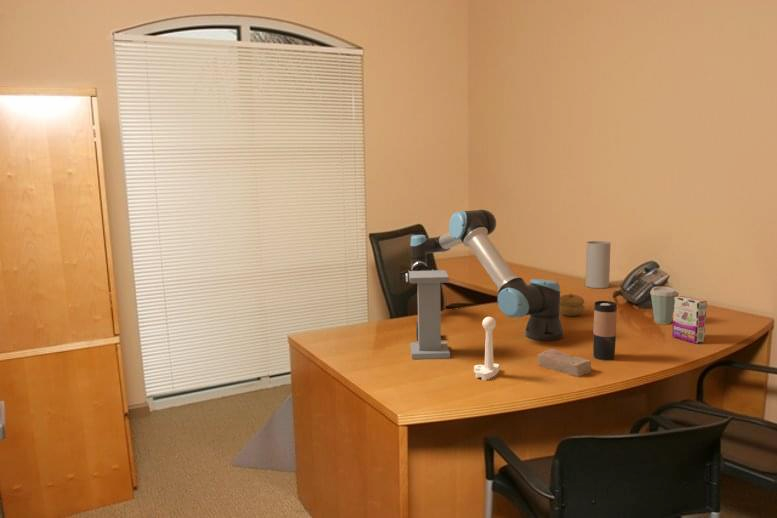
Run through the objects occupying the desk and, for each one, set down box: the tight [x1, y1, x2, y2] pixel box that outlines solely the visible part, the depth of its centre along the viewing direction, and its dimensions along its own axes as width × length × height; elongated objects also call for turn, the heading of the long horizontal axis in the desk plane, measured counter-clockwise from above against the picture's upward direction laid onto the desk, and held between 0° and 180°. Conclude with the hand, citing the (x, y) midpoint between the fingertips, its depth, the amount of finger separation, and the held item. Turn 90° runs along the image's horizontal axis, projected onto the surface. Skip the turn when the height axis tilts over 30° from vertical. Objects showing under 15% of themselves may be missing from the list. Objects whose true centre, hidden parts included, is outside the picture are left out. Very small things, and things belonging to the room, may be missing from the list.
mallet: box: [415, 321, 418, 342], centre depth 249 cm, size 23×8×6 cm, turn 0°
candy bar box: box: [671, 295, 708, 345], centre depth 229 cm, size 11×5×16 cm, turn 23°
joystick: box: [473, 316, 500, 381], centre depth 197 cm, size 11×8×20 cm
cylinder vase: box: [585, 240, 611, 290], centre depth 329 cm, size 12×12×25 cm
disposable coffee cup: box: [649, 285, 678, 325], centre depth 254 cm, size 11×11×15 cm
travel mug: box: [592, 300, 618, 361], centre depth 211 cm, size 8×8×20 cm
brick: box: [537, 348, 592, 377], centre depth 202 cm, size 17×8×5 cm, turn 39°
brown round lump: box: [559, 293, 585, 317], centre depth 271 cm, size 12×12×10 cm
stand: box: [408, 269, 451, 360], centre depth 221 cm, size 16×14×30 cm
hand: (422, 278), depth 257 cm, fingers open, 13 cm apart
